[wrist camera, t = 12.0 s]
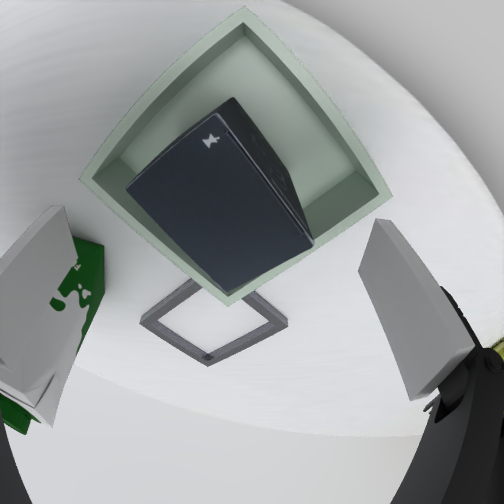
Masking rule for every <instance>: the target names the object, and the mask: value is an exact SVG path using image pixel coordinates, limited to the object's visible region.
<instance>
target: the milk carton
mask: <svg viewBox="0 0 504 504" xmlns="http://www.w3.org/2000/svg"><path fill="white" fill-rule="evenodd" d="M72 239H73V243H74V246H75V249H76V253H77V256H78V259H77V260H76V261H75V263H74V264H73V266H72V267H71V269H70V270H69V272H68V273H67V275H66V276H65V278H64V280H63V281H62V283H61V284H60V286H59V287H58V289H57V291H56V292H55V294H54V296H53V297H52V299H51V301H50V302H49V304H48V306H47V307H46V309H45V311H44V313H43V314H42V316H41V318H40V320H39V322H38V323H37V325H36V327H35V329H34V331H33V333H32V335H31V337H30V339H29V340H28V342H27V344H26V346H25V349H24V351H23V353H22V355H21V357H20V359H19V361H18V363H17V366H16V368H15V370H14V372H13V373H12V372H10V371H8V370H6V369H3V368H1V367H0V409H1V414H2V418H3V422H4V423H5V424H6V425H8V426H10V427H11V428H13V429H14V430H16V431H18V432H20V433H22V434H24V435H26V434H27V431H28V427H29V425H30V421H31V419H33V420H35V421H37V422H39V423H43V424H45V425H47V426H49V427H53V423H54V419H55V415H56V411H57V408H58V404H59V401H60V397H61V394H62V391H63V388H64V385H65V383H66V380H67V378H68V375H69V373H70V370H71V368H72V365H73V363H74V361H75V358H76V356H77V353H78V351H79V349H80V347H81V344H82V342H83V340H84V338H85V335H86V333H87V331H88V329H89V327H90V325H91V322H92V320H93V318H94V316H95V314H96V312H97V309H98V307H99V305H100V302H101V300H102V298H103V296H104V293H105V289H104V246H102V245H98V244H95V243H92V242H89V241H85V240H82V239H79V238H76V237H73V236H72Z"/></svg>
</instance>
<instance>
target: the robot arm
mask: <svg viewBox="0 0 504 504" xmlns="http://www.w3.org/2000/svg"><path fill="white" fill-rule="evenodd" d="M77 259H78V256H77V253H76V249H75V246H74V243H73V239H72V236H71V232H70V228H69V224H68V221H67V217H66V213H65V208H64V206H51V207H50V208H49V209H48V210H47V211H46V212H44V213H43V214H42V215H41V216H40V217H39V218H38V219H37V220H36V221H35V222H34V223H33V224H32V225H31V226H30V227H29V228H28V229H27V230H26V231H25V232H24V233H23V234H22V235H21V237H20V238H19V239H18V240H17V241H16V242H15V243H14V244H13V245H12V246H11V247H10V249H9V250H8V251H7V252H6V253H5V254H4V255H3V257H2V258H1V259H0V367H1V368H3V369H6V370H8V371H10V372H12V373H13V372H14V370H15V368H16V366H17V363H18V361H19V359H20V357H21V355H22V353H23V351H24V349H25V346H26V344H27V342H28V340H29V339H30V337H31V335H32V333H33V331H34V329H35V327H36V325H37V323H38V322H39V320H40V318H41V316H42V314H43V313H44V311H45V309H46V307H47V306H48V304H49V302H50V301H51V299H52V297H53V296H54V294H55V292H56V291H57V289H58V287H59V286H60V284H61V283H62V281H63V280H64V278H65V276H66V275H67V273H68V272H69V270H70V269H71V267H72V266H73V264H74V263H75V261H76V260H77ZM358 273H359V275H360V277H361V279H362V281H363V283H364V286H365V288H366V290H367V292H368V294H369V297H370V299H371V301H372V303H373V306H374V308H375V310H376V312H377V315H378V317H379V320H380V322H381V324H382V327H383V329H384V332H385V334H386V336H387V339H388V341H389V344H390V347H391V349H392V352H393V354H394V357H395V360H396V362H397V365H398V368H399V370H400V373H401V376H402V379H403V381H404V384H405V387H406V390H407V393H408V396H409V399H410V401H412V400H416V399H420V398H424V397H427V396H429V395H430V394H431V393H432V392H433V391H434V390H435V389H436V388H437V387H438V390H439V392H440V394H439V395H438V396H437V397H435V398H434V399H433V400H432V401H431V402H430V403H429V404H428V405H427V406H426V407H425V408H424V410H423V411H424V412H426V411H427V410H428V409H429V408H431V407H432V406H433V407H432V411H430V412H429V414H430V417H429V419H428V422H427V425H426V428H425V431H424V433H423V436H422V438H421V441H420V443H419V446H418V448H417V451H416V453H415V455H414V458H413V460H412V462H411V464H410V466H409V469H408V471H407V473H406V475H405V477H404V479H403V481H402V483H401V485H400V487H399V489H398V490H397V492H396V494H395V496H394V498H393V500H392V501H391V503H390V504H504V360H503V358H502V357H501V356H500V354H499V353H498V352H496V351H495V350H494V349H491V348H483V347H482V346H481V344H480V342H479V340H478V338H477V337H476V335H475V333H474V331H473V330H472V328H471V326H470V324H469V323H468V321H467V319H466V318H465V317H463V313H462V311H461V310H460V308H458V305H457V303H456V302H455V300H454V299H453V297H452V296H451V295H450V294H449V293H448V292H447V291H446V290H445V289H444V288H443V287H442V286H439V284H438V283H437V281H436V280H435V279H434V277H433V276H432V274H431V273H430V271H429V270H428V268H427V267H426V266H425V264H424V263H423V262H422V260H421V259H420V257H419V256H418V255H417V253H416V252H415V251H414V249H413V248H412V247H411V245H410V244H409V243H408V241H407V240H406V239H405V238H404V236H403V235H402V234H401V232H400V231H399V230H398V229H397V227H396V226H395V225H394V224H393V223H392V221H391V220H384V219H375V222H374V225H373V228H372V231H371V234H370V237H369V241H368V244H367V247H366V249H365V252H364V255H363V258H362V261H361V264H360V267H359V269H358ZM0 504H32V502H31V500H30V498H29V495H28V493H27V491H26V489H25V486H24V484H23V482H22V479H21V477H20V474H19V471H18V469H17V466H16V463H15V460H14V457H13V454H12V451H11V448H10V445H9V442H8V438H7V434H6V430H5V427H4V422H3V418H2V414H1V409H0Z"/></svg>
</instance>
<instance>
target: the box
mask: <svg viewBox="0 0 504 504" xmlns="http://www.w3.org/2000/svg"><path fill="white" fill-rule="evenodd" d="M125 190H126V191H127V192H128V193H129V195H130V196H131V197H132V198H133V199H134V200H135V201H136V202H137V203H138V204H139V205H140V206H141V207H142V208H143V209H144V210H145V212H146V213H147V214H148V215H149V216H150V217H151V218H152V219H153V220H154V221H155V222H156V223H157V224H158V225H159V226H160V227H161V228H162V229H163V230H164V231H165V232H166V234H167V235H168V236H169V237H170V238H171V239H172V240H173V241H174V242H175V243H176V244H177V245H178V246H179V247H180V248H181V249H182V250H183V251H184V252H185V253H186V254H187V255H188V256H189V257H190V258H191V259H192V260H193V261H194V262H195V263H196V264H197V265H198V266H199V267H200V268H201V269H202V270H203V271H204V272H205V273H206V274H207V275H208V276H209V277H210V278H211V279H212V280H213V281H214V282H215V283H216V284H217V285H218V286H219V287H220V288H222V289H223V290H224V292H226V293H227V292H229V291H231V290H233V289H235V288H237V287H239V286H241V285H243V284H245V283H247V282H249V281H251V280H253V279H254V278H256V277H258V276H260V275H262V274H264V273H266V272H268V271H269V270H271V269H273V268H275V267H277V266H279V265H281V264H282V263H284V262H286V261H288V260H290V259H292V258H294V257H296V256H297V255H299V254H301V253H303V252H305V251H307V250H309V249H311V248H312V247H313V246H314V244H315V242H314V240H313V237H312V234H311V232H310V229H309V226H308V223H307V220H306V218H305V215H304V212H303V209H302V206H301V203H300V201H299V198H298V196H297V193H296V190H295V187H294V185H293V182H292V179H291V177H290V174H289V172H288V170H287V169H286V167H285V166H284V164H283V163H282V161H281V160H280V158H279V157H278V155H277V154H276V153H275V151H274V150H273V148H272V147H271V146H270V144H269V143H268V141H267V140H266V139H265V137H264V136H263V134H262V133H261V132H260V130H259V129H258V127H257V126H256V125H255V123H254V122H253V121H252V119H251V118H250V117H249V116H248V114H247V113H246V112H245V110H244V109H243V108H242V106H241V105H240V104H239V103H238V101H237V100H236V99H235V98H234V97H232V98H230V99H228V100H227V101H226V102H224V103H223V104H221V105H220V106H219V107H217V108H216V109H214V110H213V111H212V112H210V113H209V114H208V115H206V116H205V117H203V118H202V119H201V120H199V121H198V122H197V123H195V124H194V125H193V126H191V127H190V128H189V129H188V130H186V131H185V132H184V133H183V134H181V135H180V136H179V137H177V138H176V139H175V140H174V141H173V142H171V143H170V144H169V145H168V146H167V147H166V148H165V149H164V150H163V151H162V152H160V153H159V154H158V155H157V156H156V157H155V158H154V159H153V160H152V161H151V162H150V163H149V164H148V165H147V166H146V167H145V168H144V169H143V170H142V171H141V172H140V173H139V174H138V175H137V176H136V177H135V178H134V179H133V180H132V181H131V182H130V183H129V184H128V185H127V186H126V188H125Z"/></svg>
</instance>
